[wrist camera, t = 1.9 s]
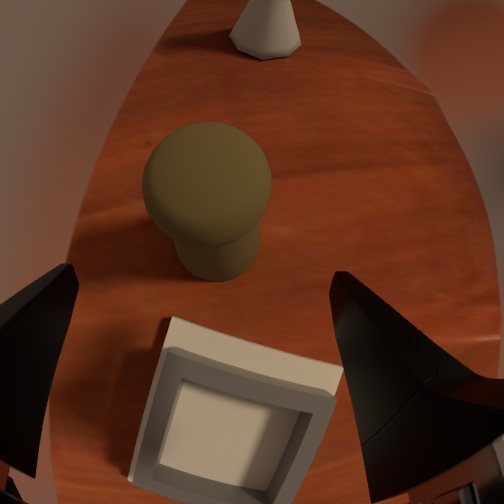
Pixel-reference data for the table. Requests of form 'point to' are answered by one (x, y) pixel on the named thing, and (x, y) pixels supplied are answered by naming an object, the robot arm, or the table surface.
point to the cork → (209, 197)
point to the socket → (231, 419)
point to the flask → (266, 29)
